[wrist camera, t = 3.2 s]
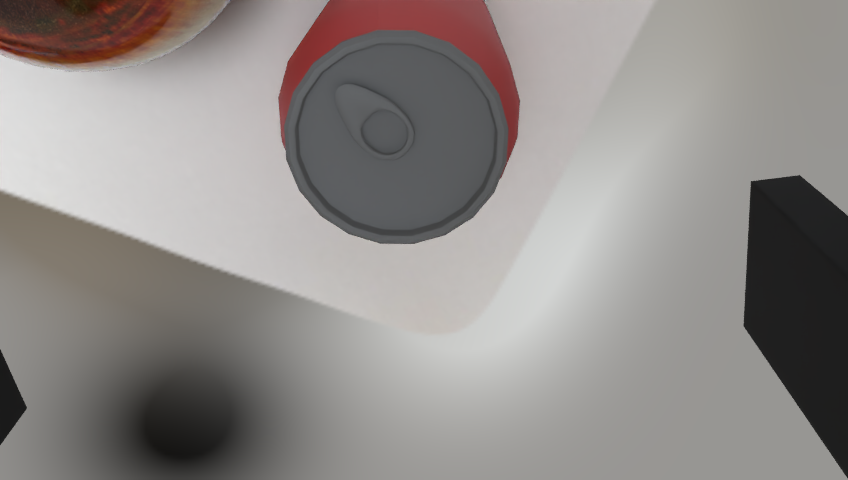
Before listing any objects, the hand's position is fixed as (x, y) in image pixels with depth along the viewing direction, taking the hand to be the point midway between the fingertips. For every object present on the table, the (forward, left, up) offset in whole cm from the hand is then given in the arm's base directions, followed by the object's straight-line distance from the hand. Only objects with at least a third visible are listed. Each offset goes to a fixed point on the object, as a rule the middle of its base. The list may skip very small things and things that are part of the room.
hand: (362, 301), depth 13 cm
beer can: (0, 0, -19) cm, 19 cm away
